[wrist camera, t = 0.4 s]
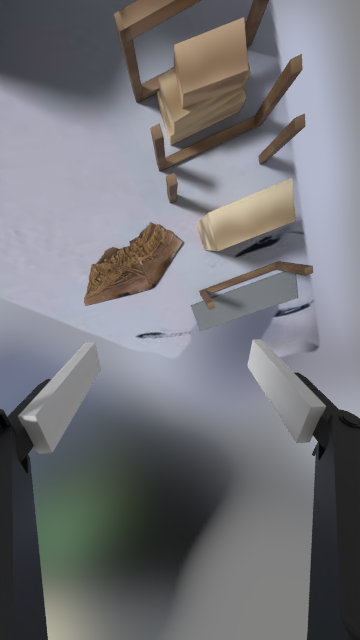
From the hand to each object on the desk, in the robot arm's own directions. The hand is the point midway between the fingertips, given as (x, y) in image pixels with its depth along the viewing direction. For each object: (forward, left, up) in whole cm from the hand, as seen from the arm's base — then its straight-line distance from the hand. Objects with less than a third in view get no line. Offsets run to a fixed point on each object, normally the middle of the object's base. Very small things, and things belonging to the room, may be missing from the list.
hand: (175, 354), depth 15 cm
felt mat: (+9, +14, -26) cm, 31 cm away
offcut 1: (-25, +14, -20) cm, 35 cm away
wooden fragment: (-7, -8, -26) cm, 28 cm away
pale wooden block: (-8, +14, -26) cm, 31 cm away
